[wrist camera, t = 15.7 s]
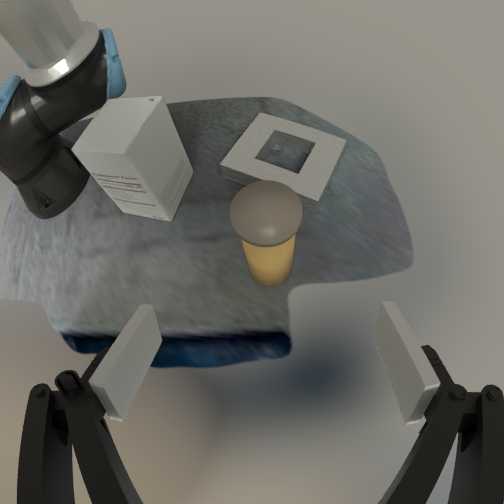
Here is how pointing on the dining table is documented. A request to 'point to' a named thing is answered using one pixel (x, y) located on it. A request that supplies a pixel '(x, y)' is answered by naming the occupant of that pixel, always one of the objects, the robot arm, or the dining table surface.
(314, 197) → the housing
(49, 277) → the dining table surface
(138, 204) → the supplement box
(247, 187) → the yellow and grey cylinder
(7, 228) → the dining table surface
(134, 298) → the dining table surface
